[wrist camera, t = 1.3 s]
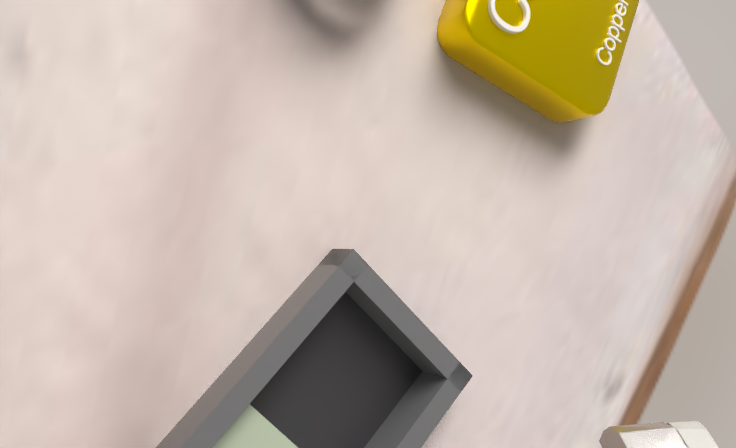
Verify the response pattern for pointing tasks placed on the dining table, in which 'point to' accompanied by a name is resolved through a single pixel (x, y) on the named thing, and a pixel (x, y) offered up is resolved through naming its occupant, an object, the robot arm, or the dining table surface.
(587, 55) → the element tile
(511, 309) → the dining table surface
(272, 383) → the grey rimmed tray
